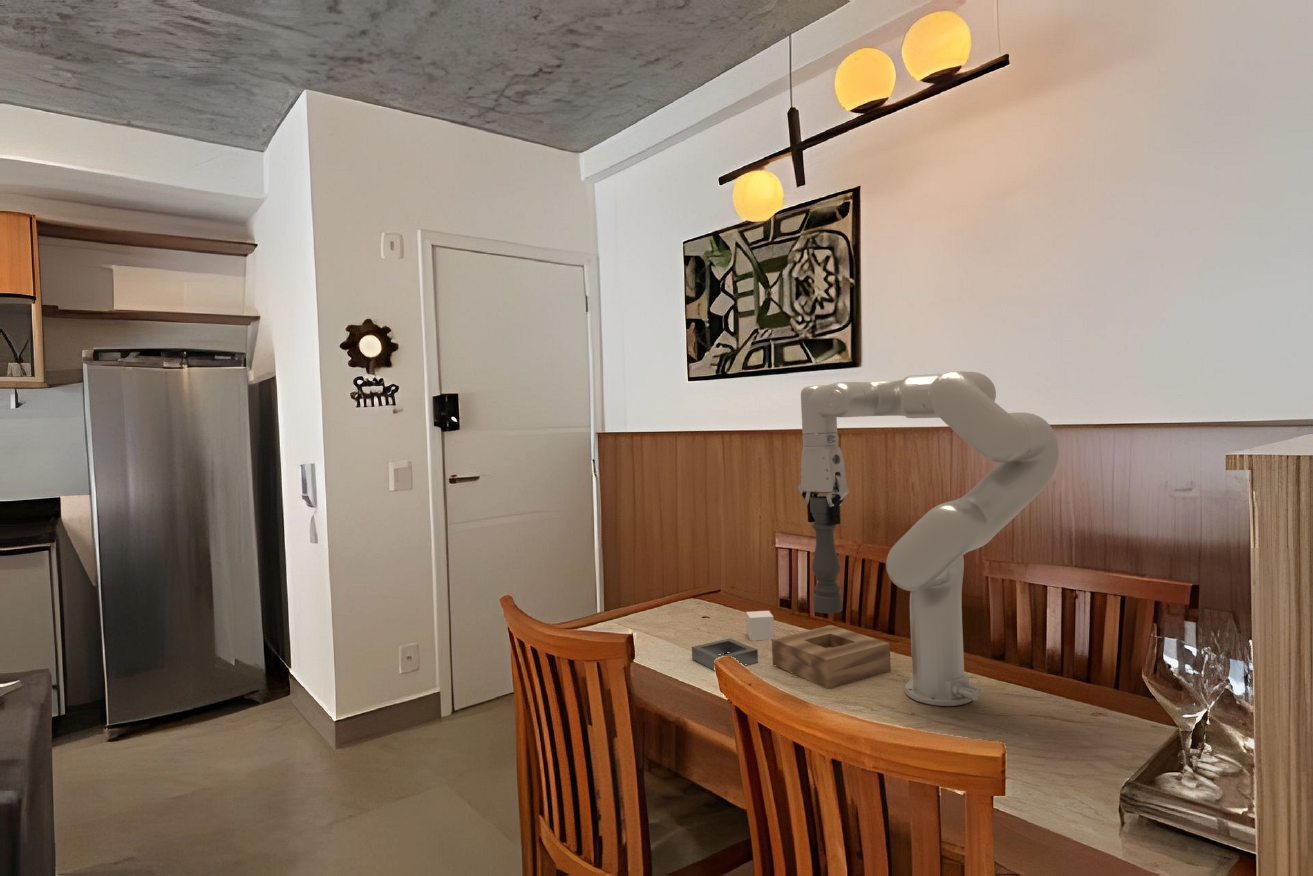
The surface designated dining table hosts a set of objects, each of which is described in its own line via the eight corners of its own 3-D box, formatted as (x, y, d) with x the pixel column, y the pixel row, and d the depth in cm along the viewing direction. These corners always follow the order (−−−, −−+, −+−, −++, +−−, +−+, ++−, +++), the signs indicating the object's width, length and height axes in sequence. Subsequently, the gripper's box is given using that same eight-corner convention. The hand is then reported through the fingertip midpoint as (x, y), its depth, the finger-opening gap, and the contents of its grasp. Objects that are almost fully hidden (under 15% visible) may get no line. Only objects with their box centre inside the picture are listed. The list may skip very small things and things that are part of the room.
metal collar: (758, 662, 164) (757, 649, 164) (718, 672, 159) (717, 659, 159) (730, 650, 174) (730, 638, 174) (692, 659, 168) (691, 647, 168)
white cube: (747, 634, 187) (746, 611, 187) (769, 633, 187) (768, 610, 187) (751, 641, 181) (749, 617, 181) (774, 640, 181) (773, 616, 181)
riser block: (890, 670, 155) (889, 643, 155) (828, 688, 146) (826, 659, 146) (832, 650, 171) (831, 625, 171) (772, 665, 162) (771, 639, 162)
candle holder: (840, 606, 161) (835, 495, 161) (844, 613, 155) (839, 498, 154) (812, 606, 162) (807, 496, 161) (815, 613, 155) (810, 499, 155)
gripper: (861, 440, 152) (865, 525, 152) (807, 441, 167) (810, 518, 167) (834, 442, 148) (838, 528, 149) (781, 442, 163) (785, 521, 164)
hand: (823, 522), depth 158 cm, fingers closed on candle holder, 5 cm apart
